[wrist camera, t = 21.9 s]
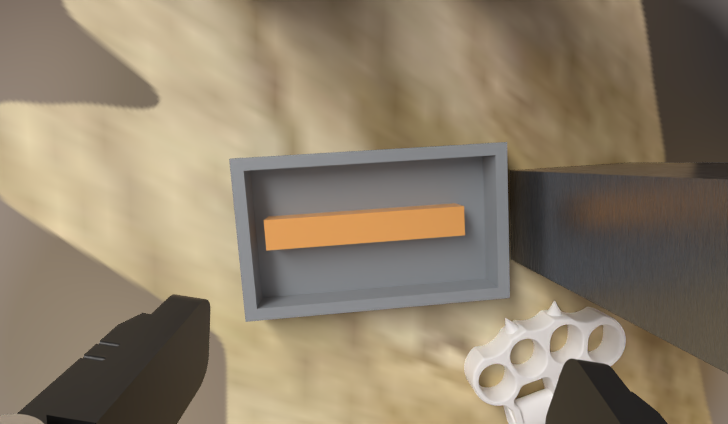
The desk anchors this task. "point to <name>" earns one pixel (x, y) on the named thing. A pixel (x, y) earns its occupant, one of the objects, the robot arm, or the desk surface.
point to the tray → (377, 259)
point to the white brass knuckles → (540, 358)
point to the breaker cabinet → (633, 244)
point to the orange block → (364, 226)
